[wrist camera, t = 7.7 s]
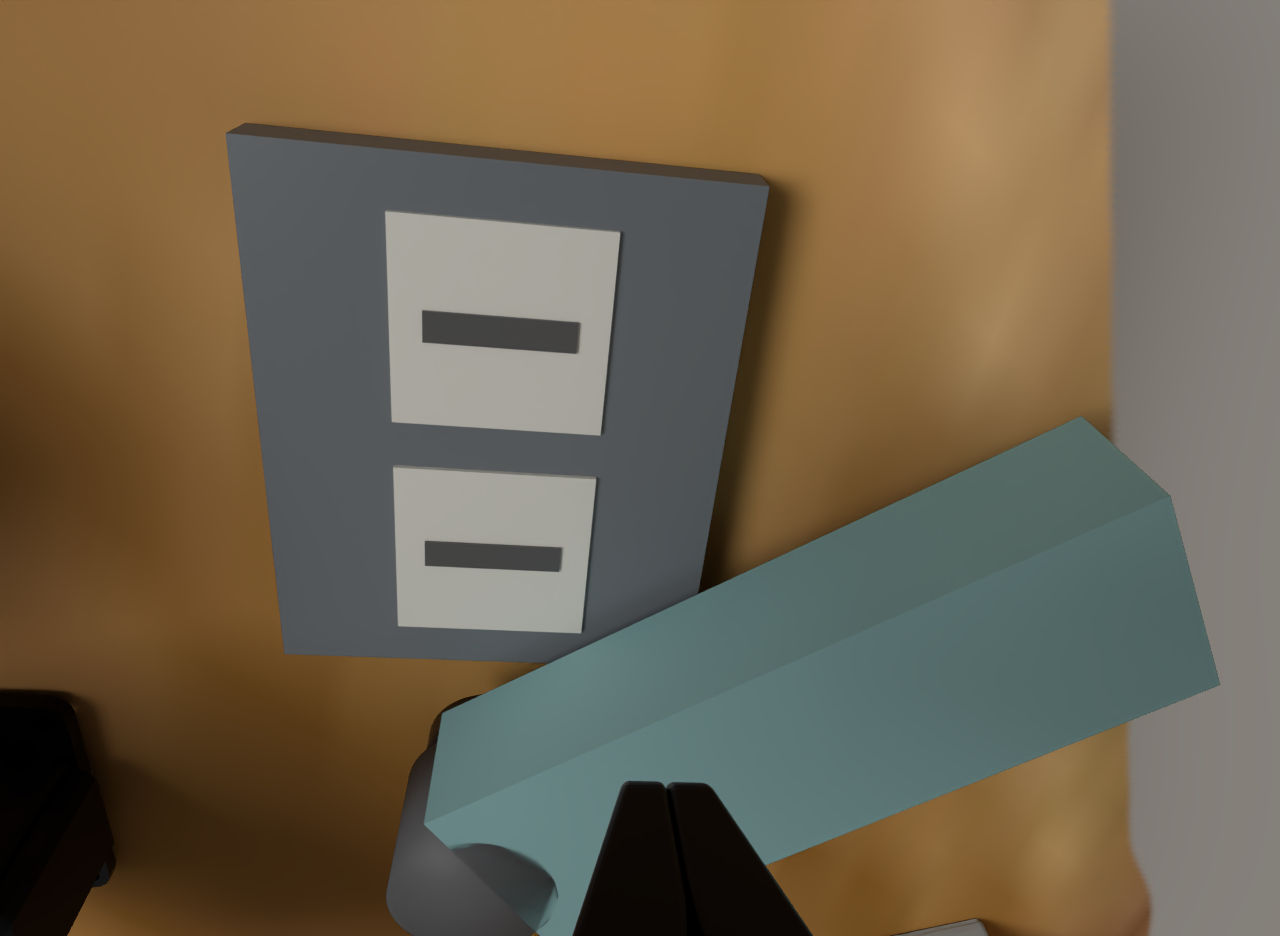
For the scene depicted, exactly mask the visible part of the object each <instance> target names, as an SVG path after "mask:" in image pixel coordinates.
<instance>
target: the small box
mask: <svg viewBox="0 0 1280 936" xmlns="http://www.w3.org/2000/svg"><path fill="white" fill-rule="evenodd" d="M894 936H988V933H987V931H986V929H985V926H984V924H983V923H982V922H980V921H979V920H978V919H972V920H967V921H962V922H958V923H953V924H948V925H944V926H939V927H934V928H929V929H924V930H920V931H915V932H910V933H906V934H901V935H894Z"/></svg>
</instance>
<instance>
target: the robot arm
mask: <svg viewBox="0 0 1280 936" xmlns="http://www.w3.org/2000/svg"><path fill="white" fill-rule="evenodd" d="M46 716H47V717H46ZM48 717H49V718H48ZM113 844H114V840H113V836H112V833H111V829H110V825H109V822H108V818H107V814H106V811H105V807H104V803H103V800H102V796H101V792H100V788H99V785H98V781H97V779H96V778H95V776H94V775H93V774H92V772H91V769H90V766H89V762H88V758H87V755H86V751H85V747H84V744H83V740H82V736H81V733H80V729H79V725H78V722H77V718H76V715H75V711H74V709H73V708H72V706H71V705H70V704H69V703H68V702H66V701H65V700H63V699H61V698H58V697H55V696H49V695H18V694H0V936H67V935H68V933H69V931H70V929H71V927H72V925H73V923H74V921H75V919H76V917H77V915H78V913H79V912H80V910H81V908H82V906H83V904H84V902H85V900H86V898H87V896H88V894H89V892H90V890H91V888H92V887H100V886H102V885H105V884H106V883H107V882H108V881H109V879H110V877H111V875H112V873H113V871H114V869H115V867H116V860H115V857H114V853H113V849H112V847H113ZM572 936H813V935H812V933H811V932H810V930H809V929H808V927H807V926H806V925H805V923H804V922H803V920H802V919H801V917H800V916H799V914H798V913H797V911H796V910H795V908H794V907H793V905H792V904H791V902H790V901H789V900H788V898H787V897H786V895H785V894H784V892H783V891H782V889H781V888H780V886H779V885H778V883H777V882H776V880H775V879H774V877H773V876H772V875H771V873H770V872H769V870H768V869H767V867H766V866H765V864H764V863H763V861H762V860H761V858H760V857H759V855H758V854H757V852H756V851H755V850H754V848H753V847H752V845H751V844H750V842H749V841H748V839H747V838H746V836H745V835H744V833H743V832H742V830H741V829H740V827H739V826H738V825H737V823H736V822H735V820H734V819H733V817H732V816H731V814H730V813H729V811H728V810H727V808H726V807H725V805H724V804H723V802H722V801H721V800H720V798H719V797H718V795H717V794H716V792H715V791H714V789H713V788H712V787H711V786H709V785H708V784H706V783H697V782H672V783H669V784H668V785H667V786H666V787H665V786H664V784H663V783H661V782H658V781H626V782H624V783H623V785H622V786H621V789H620V791H619V794H618V797H617V800H616V804H615V807H614V810H613V813H612V816H611V819H610V822H609V825H608V828H607V831H606V834H605V837H604V840H603V843H602V846H601V849H600V853H599V856H598V859H597V862H596V865H595V868H594V871H593V874H592V877H591V880H590V883H589V886H588V889H587V892H586V895H585V898H584V902H583V905H582V908H581V911H580V914H579V917H578V920H577V923H576V926H575V929H574V932H573V935H572Z"/></svg>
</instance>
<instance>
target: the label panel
mask: <svg viewBox="0 0 1280 936" xmlns="http://www.w3.org/2000/svg"><path fill="white" fill-rule="evenodd" d="M226 141H227V149H228V158H229V167H230V176H231V185H232V194H233V203H234V211H235V220H236V229H237V238H238V247H239V256H240V265H241V273H242V282H243V291H244V300H245V309H246V318H247V327H248V335H249V344H250V353H251V362H252V371H253V380H254V389H255V397H256V406H257V415H258V424H259V433H260V442H261V451H262V459H263V468H264V477H265V486H266V495H267V504H268V512H269V521H270V530H271V539H272V548H273V557H274V566H275V574H276V583H277V592H278V601H279V610H280V619H281V628H282V636H283V645H284V654H299V655H328V656H357V657H385V658H414V659H443V660H471V661H500V662H529V663H551V662H553V661H556V660H558V659H560V658H562V657H564V656H566V655H569V654H571V653H573V652H575V651H577V650H579V649H581V648H584V647H586V646H588V645H590V644H592V643H594V642H596V641H599V640H601V639H603V638H605V637H607V636H609V635H612V634H614V633H616V632H618V631H620V630H622V629H624V628H627V627H629V626H631V625H633V624H635V623H637V622H639V621H642V620H644V619H646V618H648V617H650V616H652V615H655V614H657V613H659V612H661V611H663V610H665V609H667V608H670V607H672V606H674V605H676V604H678V603H680V602H682V601H685V600H687V599H689V598H691V597H693V596H695V595H698V591H699V585H700V580H701V574H702V568H703V562H704V557H705V551H706V545H707V540H708V534H709V528H710V523H711V517H712V511H713V506H714V500H715V494H716V489H717V483H718V477H719V471H720V466H721V460H722V454H723V449H724V443H725V437H726V432H727V426H728V420H729V415H730V409H731V403H732V397H733V392H734V386H735V380H736V375H737V369H738V363H739V358H740V352H741V346H742V341H743V335H744V329H745V323H746V318H747V312H748V306H749V301H750V295H751V289H752V284H753V278H754V272H755V267H756V261H757V255H758V249H759V244H760V238H761V232H762V227H763V221H764V215H765V210H766V204H767V198H768V193H769V187H770V186H769V185H768V184H767V183H766V182H765V181H764V180H763V178H762V177H761V176H760V175H759V174H751V173H741V172H731V171H721V170H711V169H701V168H691V167H681V166H671V165H661V164H651V163H641V162H631V161H621V160H611V159H601V158H591V157H580V156H570V155H560V154H550V153H540V152H530V151H520V150H510V149H500V148H490V147H480V146H470V145H460V144H450V143H440V142H430V141H420V140H410V139H400V138H390V137H380V136H370V135H360V134H350V133H340V132H330V131H320V130H310V129H300V128H290V127H279V126H269V125H259V124H249V123H244V124H242V125H240V126H238V127H237V128H235V129H233V130H231V131H229V132H227V133H226Z"/></svg>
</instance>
